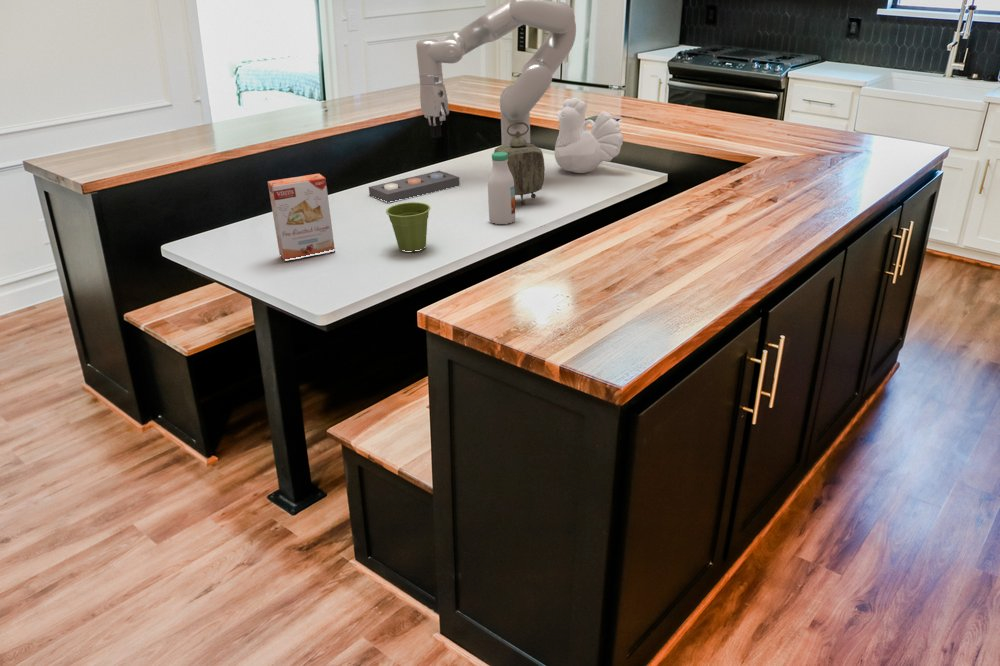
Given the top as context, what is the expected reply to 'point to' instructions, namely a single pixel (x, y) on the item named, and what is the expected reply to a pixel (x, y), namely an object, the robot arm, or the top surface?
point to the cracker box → (301, 215)
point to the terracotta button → (414, 181)
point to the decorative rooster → (585, 138)
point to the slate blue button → (436, 175)
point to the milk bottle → (501, 191)
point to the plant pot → (409, 224)
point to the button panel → (414, 187)
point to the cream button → (391, 186)
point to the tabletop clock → (524, 164)
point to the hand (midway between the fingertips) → (436, 137)
